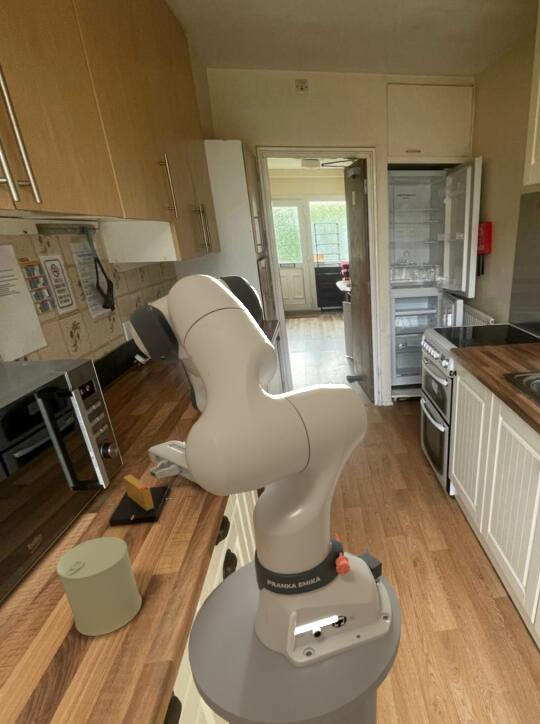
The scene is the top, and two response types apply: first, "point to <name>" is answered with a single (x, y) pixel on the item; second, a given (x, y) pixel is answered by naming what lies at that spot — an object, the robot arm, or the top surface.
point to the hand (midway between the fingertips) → (153, 474)
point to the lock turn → (138, 492)
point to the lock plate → (139, 508)
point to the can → (99, 585)
